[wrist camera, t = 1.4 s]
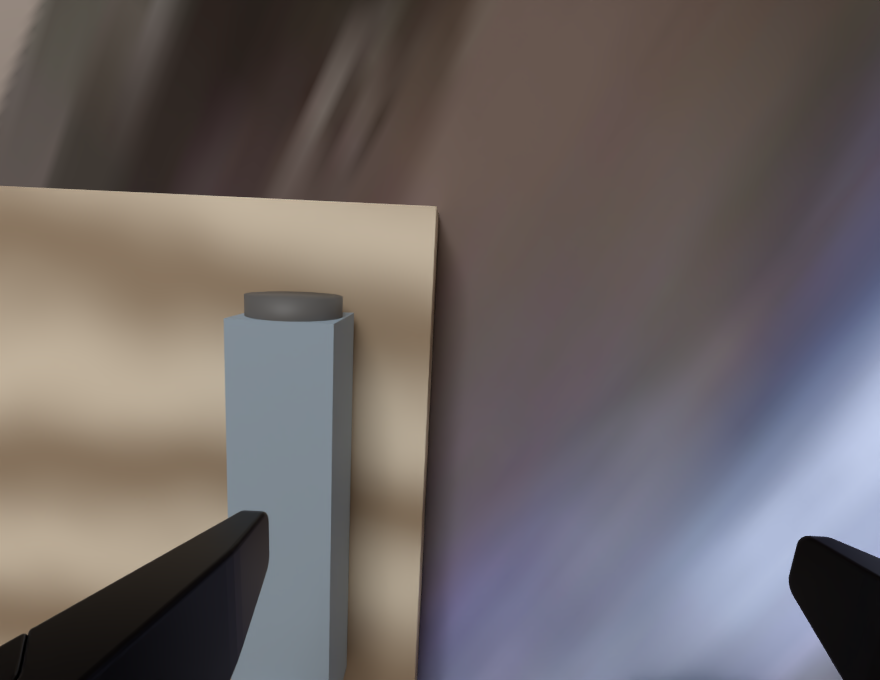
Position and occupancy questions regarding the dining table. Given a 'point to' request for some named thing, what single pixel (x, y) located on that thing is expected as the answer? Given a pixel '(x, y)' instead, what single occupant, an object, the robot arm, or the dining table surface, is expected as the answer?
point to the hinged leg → (293, 475)
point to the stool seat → (198, 388)
